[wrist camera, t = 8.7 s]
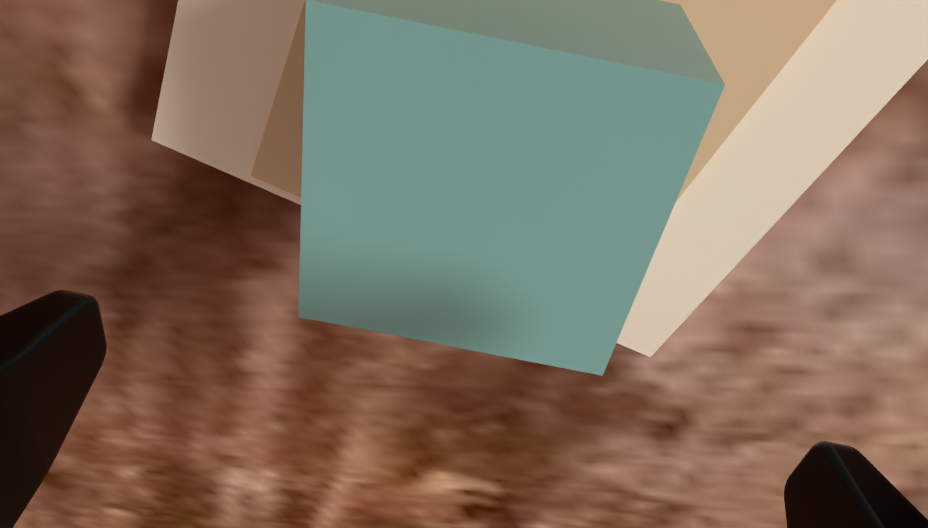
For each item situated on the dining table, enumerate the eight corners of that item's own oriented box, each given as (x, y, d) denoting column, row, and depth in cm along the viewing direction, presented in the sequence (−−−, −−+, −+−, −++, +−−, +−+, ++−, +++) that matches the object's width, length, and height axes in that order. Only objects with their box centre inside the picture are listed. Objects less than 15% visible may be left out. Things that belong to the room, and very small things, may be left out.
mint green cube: (680, 4, 13) (724, 84, 9) (591, 256, 16) (602, 375, 13) (367, -60, 13) (305, -1, 9) (347, 208, 16) (298, 316, 13)
